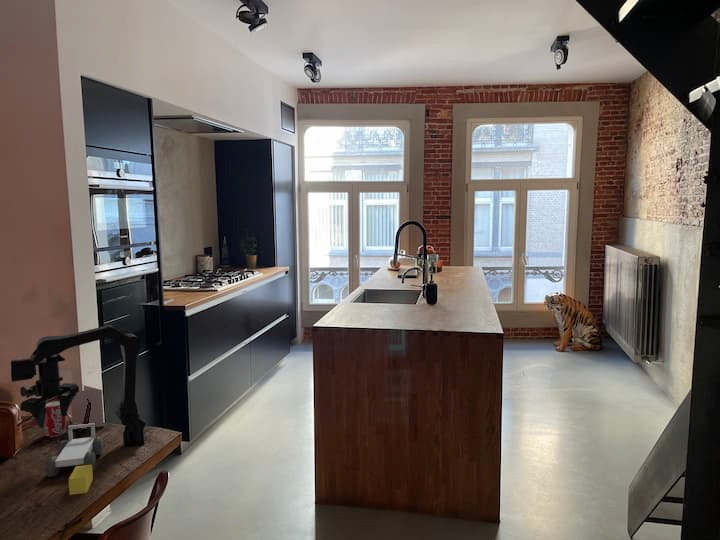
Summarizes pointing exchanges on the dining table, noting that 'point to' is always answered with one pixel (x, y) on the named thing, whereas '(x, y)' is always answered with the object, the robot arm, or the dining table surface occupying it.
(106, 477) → the dining table surface
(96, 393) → the greeting card
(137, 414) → the robot arm
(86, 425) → the trolley
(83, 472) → the block
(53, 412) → the soda can
